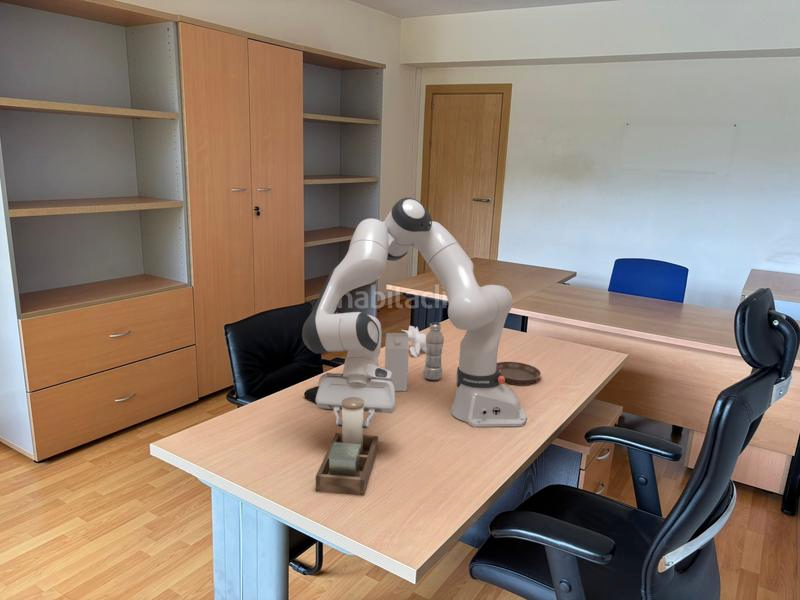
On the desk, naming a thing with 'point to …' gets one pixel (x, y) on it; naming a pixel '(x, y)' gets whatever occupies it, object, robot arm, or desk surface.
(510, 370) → the plant saucer
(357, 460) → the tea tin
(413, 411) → the desk surface
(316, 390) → the carrying case or bag
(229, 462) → the desk surface
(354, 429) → the lidded white canister
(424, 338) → the character figurine
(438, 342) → the plastic bottle
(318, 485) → the crate
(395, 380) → the milk carton
